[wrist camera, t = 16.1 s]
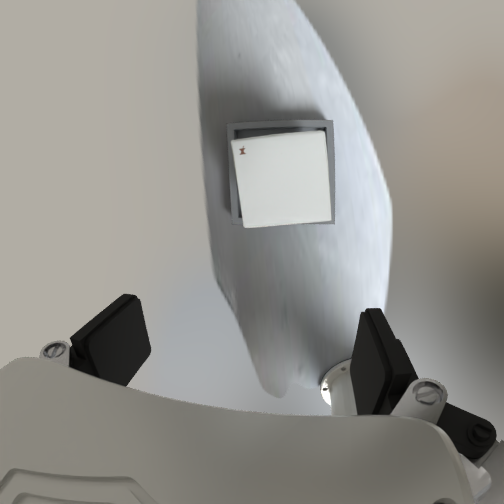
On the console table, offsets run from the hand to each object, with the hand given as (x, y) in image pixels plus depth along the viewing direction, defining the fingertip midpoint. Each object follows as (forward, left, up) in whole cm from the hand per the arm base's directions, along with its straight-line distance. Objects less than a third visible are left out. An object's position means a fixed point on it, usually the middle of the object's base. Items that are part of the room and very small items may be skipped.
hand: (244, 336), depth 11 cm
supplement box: (+4, -4, -25) cm, 26 cm away
